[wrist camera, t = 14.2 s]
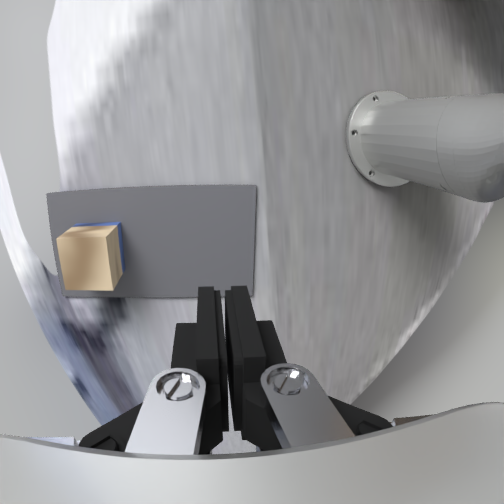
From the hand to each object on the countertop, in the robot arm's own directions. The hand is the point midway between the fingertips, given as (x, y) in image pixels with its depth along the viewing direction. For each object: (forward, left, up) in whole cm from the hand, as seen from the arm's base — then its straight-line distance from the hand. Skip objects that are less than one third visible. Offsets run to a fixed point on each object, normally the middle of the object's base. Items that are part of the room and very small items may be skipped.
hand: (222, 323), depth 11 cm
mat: (+8, +6, -27) cm, 29 cm away
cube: (+14, +6, -21) cm, 26 cm away
